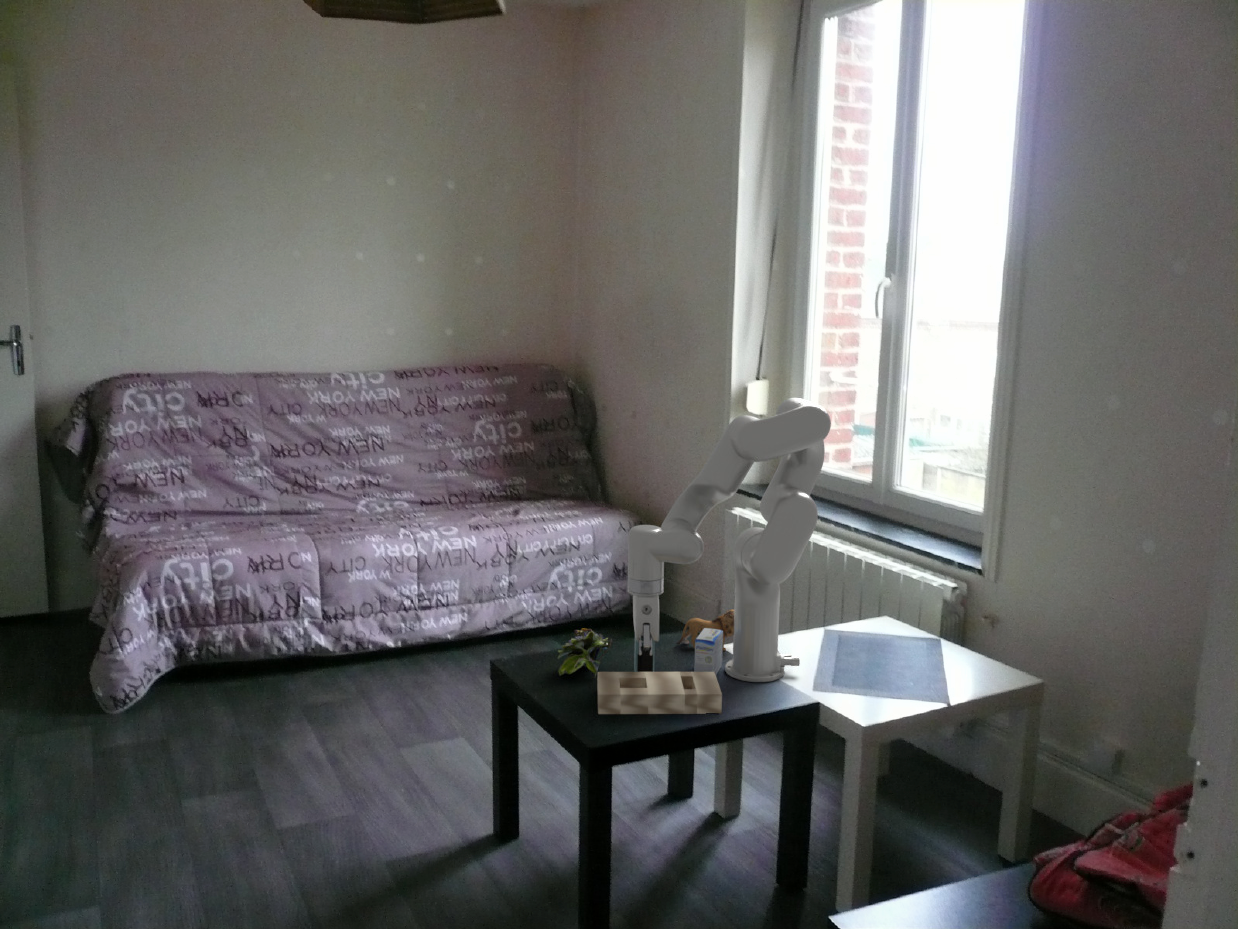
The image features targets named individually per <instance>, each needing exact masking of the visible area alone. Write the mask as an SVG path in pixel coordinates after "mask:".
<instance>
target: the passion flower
mask: <svg viewBox="0 0 1238 929" xmlns="http://www.w3.org/2000/svg"><path fill="white" fill-rule="evenodd" d="M573 637H574V638H573ZM573 637H572V636H571V639H570V640H569V639H568V640H567V641H568V642H565V644H564V645H562V646H561V648H563V649H561V650H557V653H559V654H558V656H557V659H558V660H560V659H561V658H562V657H564V656H566V655H567V657H566V658H565V660H564V661H563V663H562V665H560V667H559V668H558V674H559V675H558V676H560V677H562V676H563V675H564V674H567V675H571V674H574V673H575V672H576V671H578V670H579V669H580V668H582V667H584V666H586V668H587V669H588V670H589V671H591V672H592V673H593V674H594V676H593V679H594V678H595V679H596V676H597V675H598V669H599V667H600V665H601V663H602V660H603V658H604V657H605V655H606V653H608V652H609V650H610V648H611V646H612V645H613V639H612V638H611V639H609V637H606V638H605V637H604V635H603V634H601V633H597V632H595V631H593V630H592V629H591V628H585V627H584V628H581V629H580V630H579V629H575V630H574V636H573ZM600 652H603V654H602V655H601V657H600V658H599V659H598V660H597V658H598V655H599V653H600Z"/></svg>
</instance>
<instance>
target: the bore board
mask: <svg viewBox="0 0 1238 929" xmlns="http://www.w3.org/2000/svg"><path fill="white" fill-rule="evenodd" d="M596 676H597V677H596V678H597V679H596V680H597V681H596V682H597V687H596V688H597V689H596V690H597V713H598V715H673V714H674V715H682V714H683V715H690V714H691V715H694V714H698V715H699V714H700V715H701V714H702V715H703V714H705V715H706V713H719V714H720V715H721V714H722V710H723V708H722V704H723V693H722V690H721V687H720V684H719V682H718V678H717V675H715V672H694V671H654V672H634V671H597V675H596ZM719 714H718V715H719Z"/></svg>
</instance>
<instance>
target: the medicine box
mask: <svg viewBox="0 0 1238 929" xmlns="http://www.w3.org/2000/svg"><path fill="white" fill-rule="evenodd" d="M722 649H723V631H722V630H717V629H710V628H704V629H703V630H702V632H699V633H698V635H697V637H696V639H695V649H694V668H693V670H694V671H693V672H715V675H716V676H717V675H718V673H719V671H720V670H721V668H722V666H723V651H722Z"/></svg>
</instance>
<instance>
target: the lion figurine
mask: <svg viewBox="0 0 1238 929" xmlns="http://www.w3.org/2000/svg"><path fill="white" fill-rule="evenodd" d="M704 628H710V629H717V630H722V631H723V649H722V652H725V651H726V650H727V648H726V647H724V646H725V642H726V641H725V640H726V638H728V637H732V636H734V609H729V610H727V611H725V613H724V614H721V615H719V616H717V617H716V618H714V619H713V620H705V619H702V618H699V617H693V618H690V619H689V620H687V622H686V623H685V626H684V628H683V631H682V635H681V638H680V640H678V641H677V642H676V643H675V644H676V645H680V644H681V643H682V642H683V644H684V645H689V644H690V643H691V645H692V648H693V649H694V650H695V640H696V638H697V637H698V636H699V633H701V632H702V630H703V629H704ZM690 636H691V639H690V641H689V640H688V638H690Z"/></svg>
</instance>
